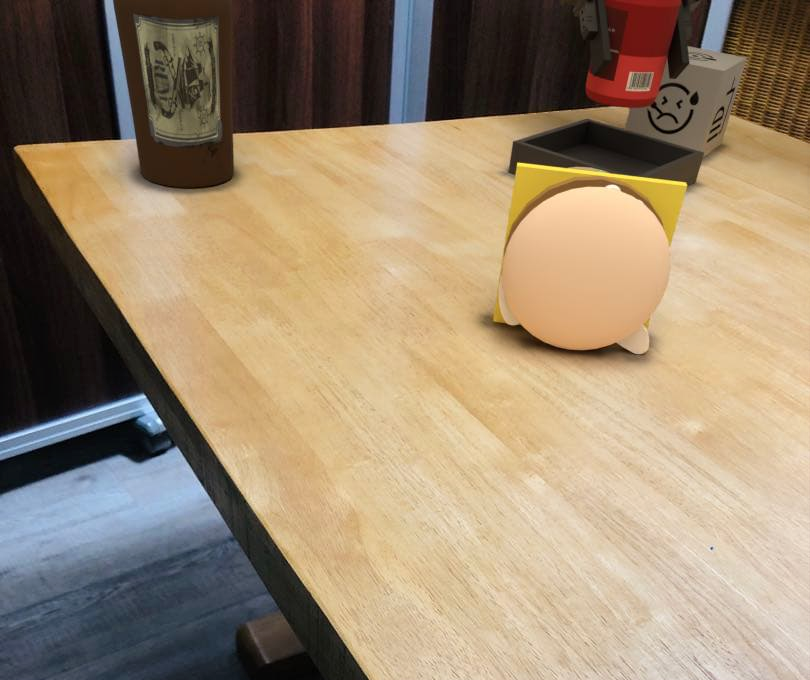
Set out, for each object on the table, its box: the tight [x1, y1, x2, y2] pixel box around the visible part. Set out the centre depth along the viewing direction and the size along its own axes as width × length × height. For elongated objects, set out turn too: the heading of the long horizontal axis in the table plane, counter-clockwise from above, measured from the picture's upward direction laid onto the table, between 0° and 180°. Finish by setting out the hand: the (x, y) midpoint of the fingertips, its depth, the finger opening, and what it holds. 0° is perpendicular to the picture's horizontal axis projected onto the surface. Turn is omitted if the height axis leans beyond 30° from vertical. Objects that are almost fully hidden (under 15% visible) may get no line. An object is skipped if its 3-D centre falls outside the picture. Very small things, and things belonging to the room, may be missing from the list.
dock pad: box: [508, 118, 704, 187], centre depth 97 cm, size 16×16×3 cm
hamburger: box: [492, 163, 688, 355], centre depth 64 cm, size 12×8×12 cm
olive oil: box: [112, 0, 235, 189], centre depth 81 cm, size 11×11×25 cm
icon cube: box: [624, 46, 748, 158], centre depth 108 cm, size 10×10×10 cm
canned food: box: [585, 0, 681, 109], centre depth 89 cm, size 8×8×11 cm
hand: (641, 69), depth 88 cm, fingers closed on canned food, 8 cm apart
